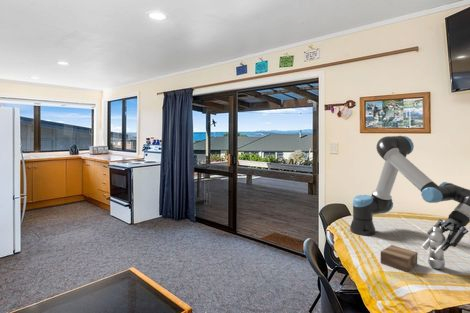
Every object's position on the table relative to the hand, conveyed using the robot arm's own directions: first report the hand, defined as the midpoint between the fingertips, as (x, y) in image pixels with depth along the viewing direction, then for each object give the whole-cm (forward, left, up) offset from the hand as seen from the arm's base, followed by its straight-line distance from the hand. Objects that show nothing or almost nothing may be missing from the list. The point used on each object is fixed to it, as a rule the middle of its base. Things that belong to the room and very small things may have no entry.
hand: (430, 251), depth 129 cm
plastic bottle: (-3, +2, -9) cm, 9 cm away
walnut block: (+6, -11, -8) cm, 15 cm away
